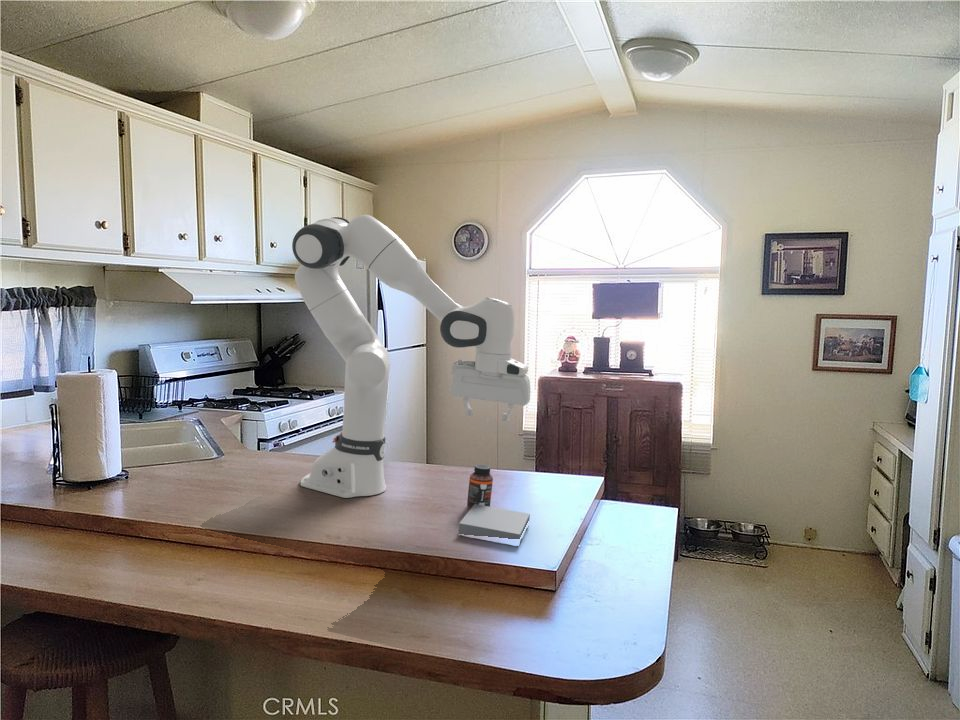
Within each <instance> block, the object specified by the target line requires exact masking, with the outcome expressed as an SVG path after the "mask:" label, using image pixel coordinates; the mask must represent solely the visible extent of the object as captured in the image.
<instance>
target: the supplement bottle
mask: <svg viewBox="0 0 960 720" xmlns="http://www.w3.org/2000/svg"><path fill="white" fill-rule="evenodd" d="M473 471H474V472H471V474H470V475H469V482H468V492H467V502H466V507H467V509H468V511H469V510H470V509H471V508H472V507H473V505H474V504H478V505H483V506H489V507H491V499H492V490H493V481H494V477H493V476H492V475H491V466H489V465H486V464H476V465H474V469H473Z"/></svg>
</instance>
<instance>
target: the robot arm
mask: <svg viewBox="0 0 960 720" xmlns="http://www.w3.org/2000/svg"><path fill="white" fill-rule="evenodd" d="M291 248H292V253H293V255H294V256H293V257H295V259H296V260H297V261H298V263H299V264H300V265H299V266H298V268H297V269H296V271H295V273H294V281H295V284H296V286H297V288H298V291H299V294H300V295H301V297H302V299H303V301H304V303H305V305H306V307H307V309H308V310H309V311H310V312H309V313H311V315H312V316H313V317H312V318H314V320H315V321H316V323H317V324H318V325H319V328H320V329H321V331H322V332H323V334H324V336H325V337H326V339H328V341H329V342H330V343H331V344H332V346H333V347H334V348H335V350H336V351H337V353H338V354H339V356H341V358H342V359H343V360H344V362H345V367H344V391H343V393H344V395H343V396H344V397H343V416H342V420H343V421H342V429H341V431H342V432H340V433H339V434H337V435H336V436H335V437H334V438H332V443H333V444H335V445H334V447H332V448H331V449H329V450H328V451H326V452H325V453H323V454H322V455H320V456H318V457H317V458H316V459H315V460H314V461H313V463H312V465H311V468H310V472H309V473H308V474H307V475H304V476H303V477H302V478H301V480H300V486H301V487H303V488H307V489H311V490H314V491H318V492H322V493H325V494H329V495H332V496H336V497H340V498H345V499H349V498H354V497H355V498H356V497H368V496H369V497H370V496H375V495H379V494H381V493H383V492H385V491H386V490H387V484H386V481H385V472H384V458H385V453H386V436H385V433H386V432H385V430H386V416H387V404H388V394H389V393H388V391H389V383H390V382H389V380H390V366H391V364H390V363H391V358H390V354H389V352H388V350H387V348H386V347H385V346H384V344H383V342H382V341H381V340H380V338H379V336H378V334H377V333H376V331H375V330H374V328H373V327H372V325H371V324H370V322H369V321H368V319H366V316H365V315H364V314H363V312H362V311H361V309H360V308H359V306H358V303H357V301H355V298H354V297H353V296H352V294H351V292H350V291H349V289H348V288H347V286H346V284H345V283H344V281H343V280H342V278H341V276H340V273H339V267H340V266H344V265H345V264H346V262H347V261H348V260H349V259H350V258H354V260H357V261H358V262H359V263H360V264H362V265H363V266H364V267H365V269H367V270H368V271H369V273H370V274H372V275H373V276H374V277H375V278H376V279H378V281H380V282H381V283H383V284H385V286H386V285H387V286H388V287H389V288H391V289H394V290H397V291H399V292H403V293H405V294H407V295H410V296H411V297H413V298H414V299H416V300H417V301H418V302H419V303H420V304H421V305H422V306H423V307H425V308H426V310H428V311H429V312H430V313H431V314H432V315H433V316H434V317H435V318H436V319H437V320H438V321H439V323H440V326H439V330H440V332H439V333H440V337H442V338H441V339H443V341H444V342H445V343H446V344H447V345H449V346H451V347H453V348H457V349H464V348H469V347H475V348H476V349H475V357H474V361H472V360H464V359H463V360H462V359H458V360H457V361H454V362H453V363H452V366H451V375H452V378H451V380H450V381H451V382H450V386H449V393H450V395H451V396H452V397H458V398H462V403H463V406H464V407H465V409H466V410H465V416H468V417H472V416H473V415H474V407H471V405H470V402H471V400H478V401H486V402H494V403H500V404H501V403H502V404H507V408H508V411H507V412H504V413H502V420H501V421H503V422H509V421H510V417H511V416H510V415H511V413H512V412H513V411H514V409H515V407H516V406H524V407H525V406H526V405H528V404H529V403H530V401H531V382H530V381H531V380H530V378H529V376H528V375H527V374H528V371H529V366H528V365H527V364H525V363H523V362H520V361H518V360H516V359H514V358H512V348H511V347H512V341H513V338H514V329H515V312H514V308H513V307H512V305H511V304H510V303H509V302H508V301H503V300H500V299H497V298H493V297H483V299H482V300H480V301H478V302H475V303H472V304H470V305H467V306H465V305H461V304H459V303H458V302H456V301H455V300H453V299H452V297H450V296H449V295H448V294H447V293H446V292H445V291H444V290H443V289H442V288H440V287H439V285H437V284H436V282H434V281H433V280H432V278H431V277H430V276H429V274H428V273H427V272H426V270H425V269H424V268H423V266H422V264H421V263H420V261H419V259H418V258H417V256H416V255H415V254H414V252H413V251H412V249H410V247H408V245H407V244H406V243H405V242H404V241H403V240H402V238H400V236H398V235H397V233H395V232H393V231H392V230H391V229H390V228H389V227H388V226H387V225H385V224H384V223H383V222H381V221H380V220H379V219H377V218H376V217H374V216H372V215H370V214H360V215H358V216H356V217H354V218H353V219H351V220H349V219H346V218H343V217H339V216H334V217H330V218H323V219H318V220H317V221H315V222H313V223H311V224H307V225H304V226H303V227H301V228H300V229H299V230H298V231H297V232H296V234H295V235H294V236H293V239H292V247H291Z"/></svg>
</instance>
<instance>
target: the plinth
mask: <svg viewBox="0 0 960 720" xmlns="http://www.w3.org/2000/svg"><path fill="white" fill-rule="evenodd" d="M530 515H531V513H529V512H527V513H526V512H521V511H515V510H511V509H505V508H499V507H493V506H490V507H489V506H483V505H478V504H474V505H473V507H472V508H471V509H470V510H469V509H468V512H467V513H466V514H465V515H464V517H463V518H462V519H461V520H460V522H459V524H458V525H459V526H458V534H464V535H474V536H488V537H499V538H508V539H520V537H521V535H522V533H523V531H524V529H525V527H526V525H527V523H528V521H529V522H530V518H531V516H530ZM458 534H457V535H458Z"/></svg>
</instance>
